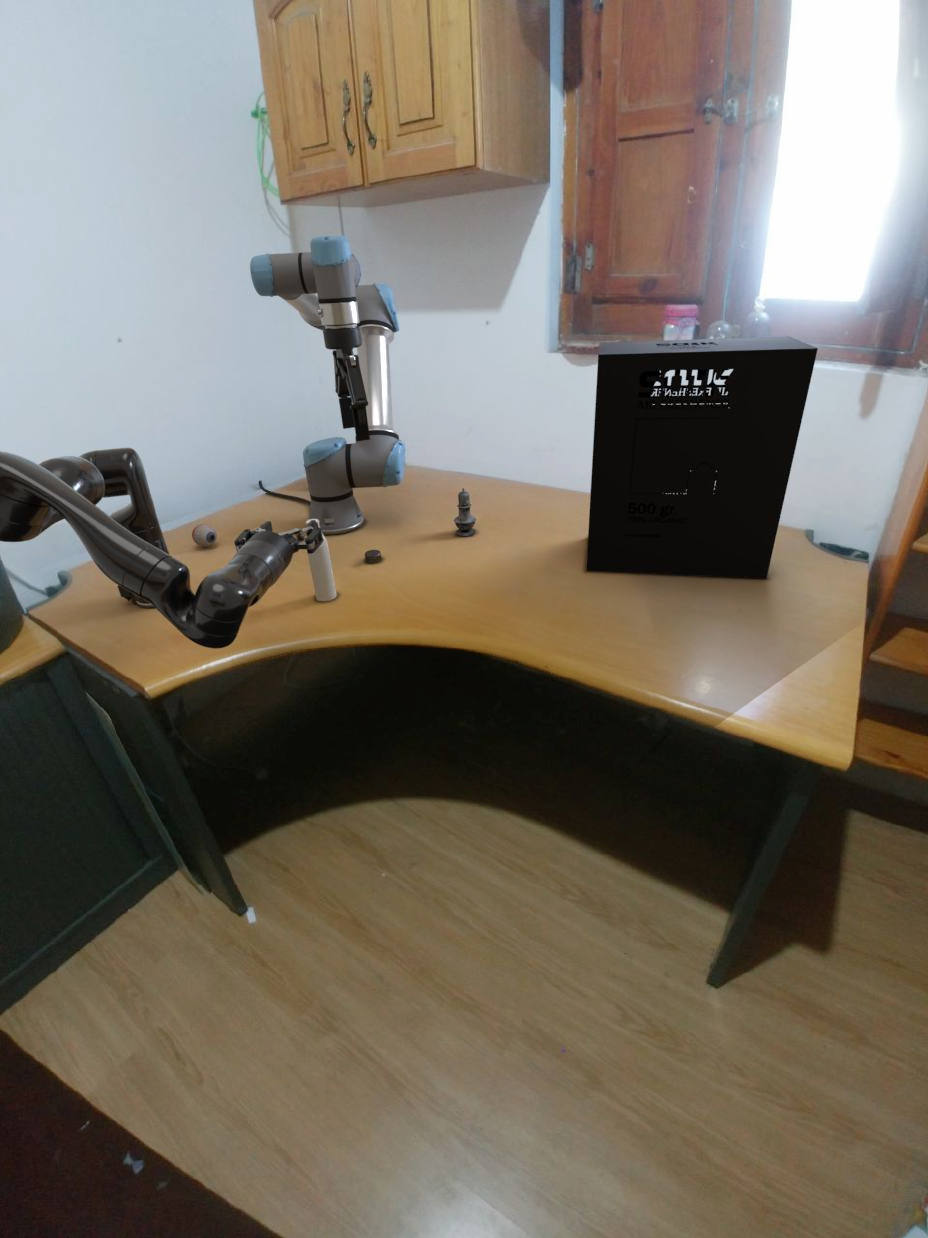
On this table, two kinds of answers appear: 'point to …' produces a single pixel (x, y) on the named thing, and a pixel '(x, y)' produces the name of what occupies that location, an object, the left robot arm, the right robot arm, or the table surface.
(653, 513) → the cardboard box
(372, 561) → the cap
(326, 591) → the bottle
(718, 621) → the table surface
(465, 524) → the salt shaker
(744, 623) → the table surface
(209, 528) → the eyeball
